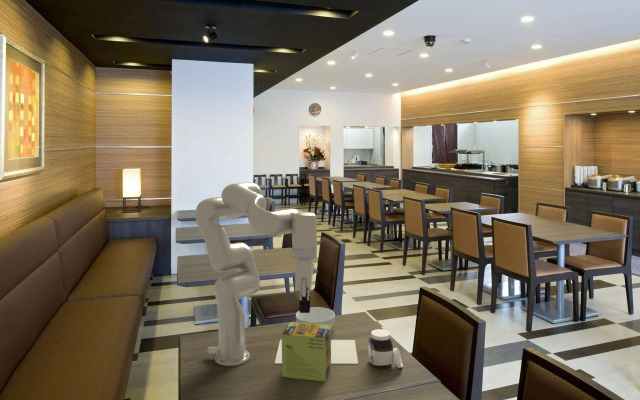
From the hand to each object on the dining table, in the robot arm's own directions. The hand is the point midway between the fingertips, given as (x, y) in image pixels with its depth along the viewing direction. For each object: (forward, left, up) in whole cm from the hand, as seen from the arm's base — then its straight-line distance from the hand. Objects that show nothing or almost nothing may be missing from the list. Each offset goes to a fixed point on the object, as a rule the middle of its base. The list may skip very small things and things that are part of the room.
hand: (304, 309), depth 143 cm
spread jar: (+28, +19, -27) cm, 44 cm away
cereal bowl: (+2, +50, -27) cm, 57 cm away
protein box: (0, +13, -27) cm, 30 cm away
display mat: (+3, +29, -27) cm, 40 cm away
